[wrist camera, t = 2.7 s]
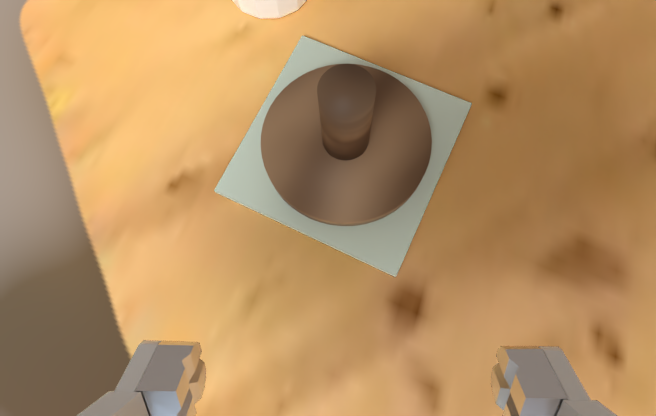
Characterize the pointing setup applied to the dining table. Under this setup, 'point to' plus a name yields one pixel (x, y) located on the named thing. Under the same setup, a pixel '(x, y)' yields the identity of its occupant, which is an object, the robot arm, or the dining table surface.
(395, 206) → the lid
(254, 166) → the mat
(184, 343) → the robot arm
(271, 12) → the white cup
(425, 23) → the dining table surface
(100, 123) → the dining table surface
